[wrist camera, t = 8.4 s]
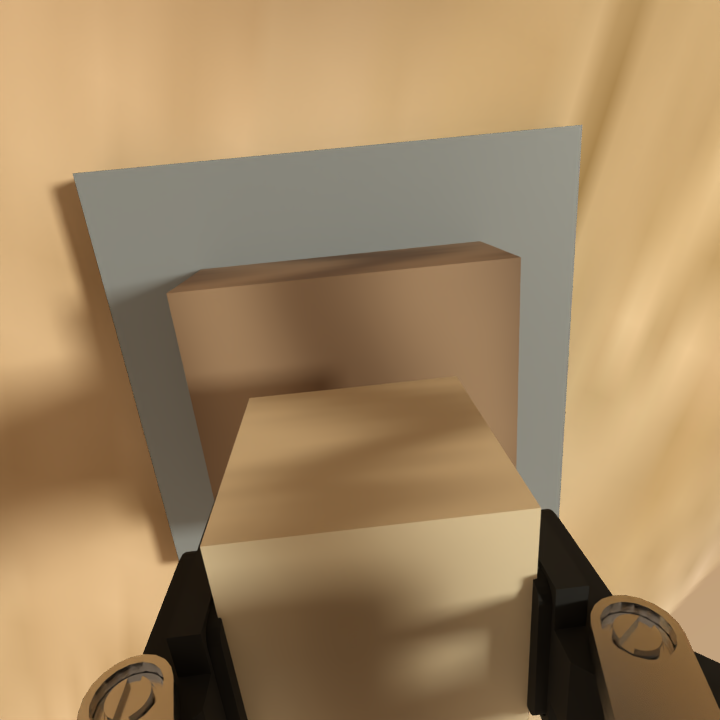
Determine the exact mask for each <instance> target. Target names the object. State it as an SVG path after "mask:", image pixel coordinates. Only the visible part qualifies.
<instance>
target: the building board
mask: <svg viewBox="0 0 720 720" xmlns="http://www.w3.org/2000/svg"><path fill="white" fill-rule="evenodd" d="M581 137H582V125H576V126H566V127H555V128H545V129H534V130H524V131H513V132H503V133H492V134H482V135H472V136H461V137H451V138H440V139H430V140H419V141H409V142H398V143H388V144H377V145H367V146H356V147H346V148H335V149H325V150H315V151H304V152H294V153H283V154H273V155H262V156H252V157H241V158H231V159H220V160H210V161H199V162H189V163H178V164H168V165H157V166H147V167H137V168H126V169H116V170H105V171H95V172H84V173H74V174H73V176H74V180H75V184H76V187H77V191H78V195H79V198H80V202H81V205H82V209H83V213H84V216H85V220H86V224H87V227H88V231H89V235H90V238H91V242H92V245H93V249H94V253H95V256H96V260H97V264H98V267H99V271H100V275H101V278H102V282H103V286H104V289H105V293H106V296H107V300H108V304H109V307H110V311H111V315H112V318H113V322H114V326H115V329H116V333H117V336H118V340H119V344H120V347H121V351H122V355H123V358H124V362H125V366H126V369H127V373H128V377H129V380H130V384H131V387H132V391H133V395H134V398H135V402H136V406H137V409H138V413H139V417H140V420H141V424H142V427H143V431H144V435H145V438H146V442H147V446H148V449H149V453H150V457H151V460H152V464H153V467H154V471H155V475H156V478H157V482H158V486H159V489H160V493H161V497H162V500H163V504H164V508H165V511H166V515H167V518H168V522H169V526H170V529H171V533H172V537H173V540H174V544H175V548H176V551H177V555H178V558H179V560H180V558H181V556H182V554H184V553H185V552H190V551H197V549H198V546H199V543H200V541H201V538H202V535H203V532H204V529H205V526H206V523H207V521H208V518H209V515H210V512H211V509H212V506H213V504H214V497H213V493H212V489H211V484H210V480H209V476H208V471H207V467H206V463H205V458H204V454H203V450H202V445H201V441H200V437H199V432H198V428H197V424H196V419H195V415H194V411H193V406H192V402H191V398H190V393H189V389H188V385H187V380H186V376H185V372H184V367H183V363H182V359H181V355H180V350H179V346H178V342H177V337H176V333H175V329H174V324H173V320H172V316H171V311H170V307H169V303H168V298H167V294H166V293H168V292H169V291H171V290H172V289H174V288H175V287H176V286H178V285H179V284H181V283H182V282H184V281H185V280H187V279H188V278H189V277H191V276H192V275H194V274H195V273H197V272H198V271H200V270H201V269H209V268H219V267H229V266H239V265H249V264H259V263H269V262H278V261H288V260H298V259H308V258H318V257H328V256H338V255H348V254H358V253H368V252H377V251H387V250H397V249H407V248H417V247H427V246H437V245H447V244H457V243H466V242H476V241H481V242H484V243H486V244H489V245H491V246H494V247H496V248H499V249H501V250H504V251H506V252H509V253H512V254H514V255H517V256H519V257H521V282H520V327H519V372H518V417H517V462H516V470H517V471H518V473H519V474H520V476H521V477H522V479H523V481H524V482H525V484H526V485H527V487H528V488H529V490H530V491H531V493H532V495H533V496H534V498H535V499H536V501H537V502H538V504H539V505H540V507H541V510H542V509H551V510H553V512H554V513H555V514H556V515H557V516H558V518H559V507H560V490H561V473H562V456H563V440H564V423H565V406H566V389H567V372H568V356H569V339H570V322H571V305H572V288H573V272H574V255H575V238H576V221H577V204H578V188H579V171H580V154H581Z"/></svg>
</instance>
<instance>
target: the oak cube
mask: <svg viewBox="0 0 720 720" xmlns="http://www.w3.org/2000/svg"><path fill="white" fill-rule="evenodd" d="M540 518H541V507H540V505H539V504H538V502H537V501H536V499H535V498H534V496H533V495H532V493H531V491H530V490H529V488H528V487H527V485H526V484H525V482H524V481H523V479H522V477H521V476H520V474H519V473H518V471H517V470H516V468H515V467H514V465H513V463H512V462H511V460H510V459H509V457H508V456H507V454H506V453H505V451H504V450H503V448H502V446H501V445H500V443H499V442H498V440H497V439H496V437H495V436H494V434H493V432H492V431H491V429H490V428H489V426H488V425H487V423H486V422H485V420H484V418H483V417H482V415H481V414H480V412H479V411H478V409H477V408H476V406H475V404H474V403H473V401H472V400H471V398H470V397H469V395H468V394H467V392H466V391H465V389H464V387H463V386H462V384H461V383H460V381H459V380H458V378H457V377H456V376H455V377H446V378H436V379H427V380H417V381H408V382H398V383H389V384H379V385H370V386H360V387H351V388H341V389H332V390H322V391H312V392H303V393H293V394H284V395H274V396H265V397H255V398H249V401H248V404H247V407H246V410H245V413H244V416H243V419H242V422H241V425H240V428H239V431H238V434H237V437H236V440H235V443H234V446H233V449H232V452H231V455H230V458H229V461H228V464H227V467H226V470H225V473H224V476H223V479H222V482H221V485H220V488H219V491H218V494H217V497H216V500H215V503H214V506H213V509H212V512H211V515H210V518H209V521H208V524H207V527H206V530H205V533H204V536H203V539H202V542H201V545H200V549H201V553H202V557H203V561H204V565H205V569H206V572H207V576H208V580H209V584H210V588H211V592H212V596H213V600H214V604H215V608H216V612H217V616H218V618H221V619H222V622H223V626H224V630H225V634H226V638H227V642H228V646H229V649H230V653H231V657H232V661H233V665H234V669H235V673H236V676H237V680H238V684H239V688H240V692H241V696H242V700H243V703H244V707H245V711H246V715H247V719H248V720H529V709H528V707H527V693H528V672H529V652H530V631H531V611H532V590H533V579H537V569H538V552H539V535H540Z"/></svg>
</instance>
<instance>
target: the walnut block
mask: <svg viewBox="0 0 720 720" xmlns="http://www.w3.org/2000/svg"><path fill="white" fill-rule="evenodd" d="M520 282H521V257H519V256H517V255H514V254H512V253H509V252H506V251H504V250H501V249H499V248H496V247H494V246H491V245H489V244H486V243H484V242H481V241H476V242H466V243H457V244H447V245H437V246H427V247H417V248H407V249H397V250H387V251H377V252H368V253H358V254H348V255H338V256H328V257H318V258H308V259H298V260H288V261H278V262H269V263H259V264H249V265H239V266H229V267H219V268H209V269H201V270H200V271H198V272H197V273H195V274H194V275H192V276H191V277H189V278H188V279H187V280H185V281H184V282H182V283H181V284H179V285H178V286H176V287H175V288H174V289H172V290H171V291H169V292H168V293H166V294H167V298H168V303H169V307H170V311H171V316H172V320H173V324H174V329H175V333H176V337H177V342H178V346H179V350H180V355H181V359H182V363H183V367H184V372H185V376H186V380H187V385H188V389H189V393H190V398H191V402H192V406H193V411H194V415H195V419H196V424H197V428H198V432H199V437H200V441H201V445H202V450H203V454H204V458H205V463H206V467H207V471H208V476H209V480H210V484H211V489H212V493H213V497H214V501H215V498H216V495H217V492H218V490H219V488H220V485H221V482H222V479H223V476H224V473H225V470H226V467H227V464H228V461H229V458H230V455H231V452H232V449H233V446H234V443H235V440H236V437H237V434H238V431H239V428H240V425H241V422H242V419H243V416H244V413H245V410H246V407H247V404H248V401H249V398H255V397H265V396H274V395H284V394H293V393H303V392H312V391H322V390H332V389H341V388H351V387H360V386H370V385H379V384H389V383H398V382H408V381H417V380H427V379H436V378H446V377H455V376H456V377H457V378H458V380H459V381H460V383H461V384H462V386H463V387H464V389H465V391H466V392H467V394H468V395H469V397H470V398H471V400H472V401H473V403H474V404H475V406H476V408H477V409H478V411H479V412H480V414H481V415H482V417H483V418H484V420H485V422H486V423H487V425H488V426H489V428H490V429H491V431H492V432H493V434H494V436H495V437H496V439H497V440H498V442H499V443H500V445H501V446H502V448H503V450H504V451H505V453H506V454H507V456H508V457H509V459H510V460H511V462H512V463H513V465H514V467H515V468H516V462H517V417H518V372H519V327H520Z"/></svg>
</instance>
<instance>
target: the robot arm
mask: <svg viewBox="0 0 720 720" xmlns="http://www.w3.org/2000/svg"><path fill="white" fill-rule="evenodd" d="M218 491H219V490H218ZM217 494H218V492H217ZM216 497H217V495H216ZM215 500H216V498H215ZM214 503H215V501H214ZM213 506H214V504H213ZM213 506H212V509H213ZM212 509H211V512H212ZM211 512H210V515H211ZM210 515H209V518H210ZM209 518H208V521H209ZM208 521H207V523H206V526H205V529H204V532H203V535H202V538H201V541H200V543H199V546H198V549H197V551H190V552H185V553H184V554H182V556H181V558H180V560H179V563H178V565H177V568H176V570H175V573H174V575H173V578H172V580H171V583H170V586H169V588H168V591H167V593H166V596H165V598H164V601H163V604H162V606H161V609H160V611H159V614H158V616H157V619H156V622H155V624H154V627H153V629H152V632H151V634H150V637H149V640H148V642H147V645H146V647H145V650H144V652H143V655H138V656H134V657H130V658H128V659H126V660H124V661H121V662H119V663H117V664H116V665H114V666H113V667H111V668H110V669H109V670H107V671H106V672H104V673H103V674H102V675H101V676H100V677H99V678H98V679H97V680H96V681H95V682H94V683H93V684H92V685H91V687H90V689H89V690H88V692H87V693H86V695H85V696H84V698H83V700H82V703H81V706H80V709H79V711H78V716H77V720H248V719H247V715H246V711H245V707H244V703H243V700H242V696H241V692H240V688H239V684H238V680H237V676H236V673H235V669H234V665H233V661H232V657H231V653H230V649H229V646H228V642H227V638H226V634H225V630H224V626H223V622H222V619H221V618H218V616H217V612H216V608H215V604H214V600H213V596H212V592H211V588H210V584H209V580H208V576H207V572H206V569H205V565H204V561H203V557H202V553H201V549H200V545H201V542H202V539H203V536H204V533H205V530H206V527H207V524H208ZM527 707H528V709H529V711H530V713H531V714H532V715H540V716H541V719H542V720H720V663H718V662H715V661H714V660H711V659H709V658H707V657H705V656H703V655H700V654H698V653H696V652H694V651H693V649H692V647H691V645H690V643H689V640H688V638H687V636H686V634H685V632H684V631H683V629H682V628H681V626H680V625H679V623H678V622H677V621H676V620H675V619H674V618H673V617H672V616H671V615H670V614H669V613H668V612H666V611H665V610H663V609H661V608H660V607H658V606H657V605H655V604H653V603H651V602H648V601H646V600H643V599H641V598H637V597H632V596H627V595H612V594H611V592H610V591H609V590H608V588H607V587H606V585H605V584H604V582H603V581H602V580H601V578H600V577H599V575H598V574H597V572H596V571H595V569H594V568H593V567H592V565H591V564H590V562H589V561H588V559H587V558H586V557H585V555H584V554H583V552H582V551H581V549H580V548H579V547H578V545H577V544H576V542H575V541H574V539H573V538H572V536H571V535H570V534H569V532H568V531H567V529H566V528H565V526H564V525H563V524H562V522H561V521H560V519H559V518H558V516H557V515H556V514H555V513H554V512H553V510H551V509H542V510H541V518H540V535H539V552H538V569H537V579H533V590H532V611H531V631H530V652H529V672H528V693H527Z"/></svg>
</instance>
